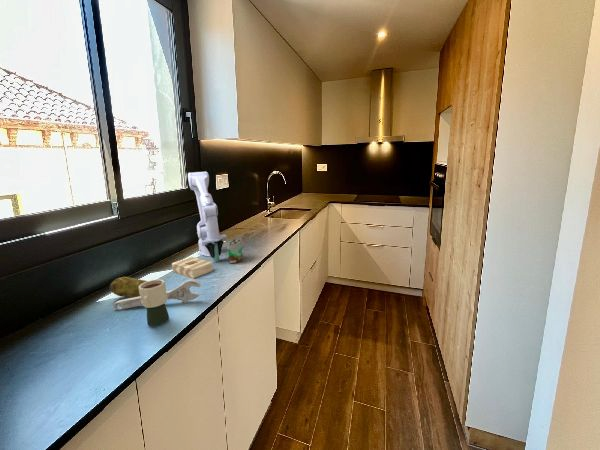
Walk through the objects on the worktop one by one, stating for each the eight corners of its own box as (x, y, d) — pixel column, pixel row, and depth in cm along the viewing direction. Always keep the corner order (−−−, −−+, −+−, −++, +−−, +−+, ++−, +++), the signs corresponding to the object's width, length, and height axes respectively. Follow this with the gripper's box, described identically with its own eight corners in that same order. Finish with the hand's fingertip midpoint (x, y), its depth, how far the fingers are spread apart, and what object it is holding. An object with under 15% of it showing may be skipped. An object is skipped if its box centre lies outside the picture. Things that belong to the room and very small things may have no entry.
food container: (241, 264, 135) (239, 244, 132) (229, 265, 135) (226, 245, 133) (247, 256, 147) (245, 237, 144) (235, 256, 147) (233, 238, 145)
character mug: (154, 314, 94) (147, 277, 91) (176, 312, 95) (170, 275, 92) (138, 333, 84) (130, 293, 81) (163, 331, 84) (155, 291, 81)
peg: (212, 261, 141) (209, 244, 139) (217, 259, 144) (214, 242, 142) (215, 262, 140) (213, 245, 138) (220, 260, 142) (218, 243, 140)
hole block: (173, 271, 131) (171, 263, 130) (192, 264, 139) (191, 256, 138) (193, 278, 122) (191, 269, 121) (212, 270, 129) (211, 262, 129)
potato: (146, 299, 105) (142, 279, 103) (109, 303, 103) (104, 283, 102) (154, 289, 113) (151, 270, 111) (120, 293, 111) (116, 274, 110)
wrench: (120, 315, 101) (204, 297, 103) (117, 317, 99) (203, 300, 101) (112, 294, 99) (198, 277, 101) (109, 297, 97) (197, 279, 99)
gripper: (204, 234, 130) (208, 262, 133) (229, 227, 141) (232, 253, 144) (195, 232, 134) (199, 259, 137) (220, 225, 145) (223, 251, 149)
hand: (215, 256), depth 141 cm, fingers closed on peg, 3 cm apart
